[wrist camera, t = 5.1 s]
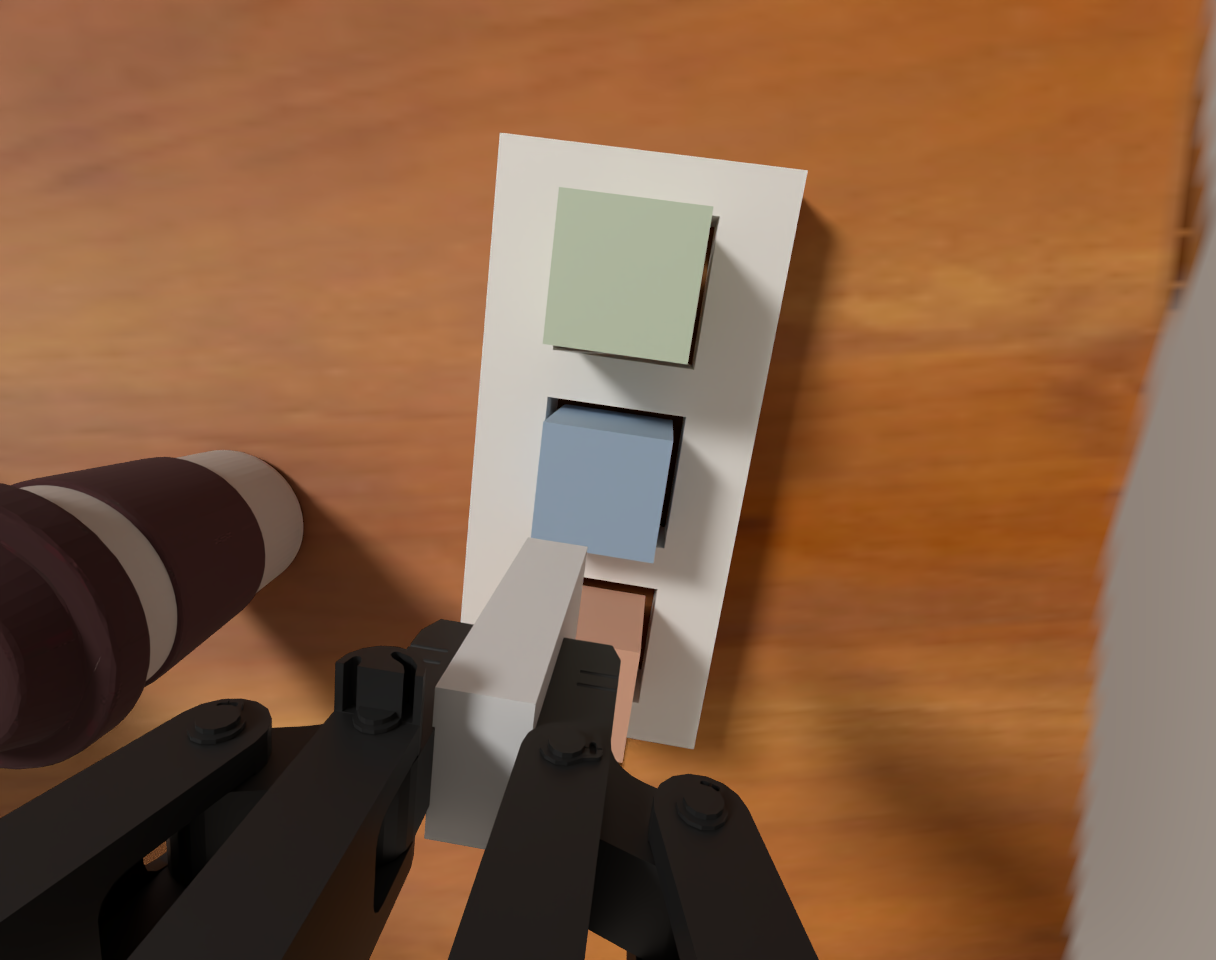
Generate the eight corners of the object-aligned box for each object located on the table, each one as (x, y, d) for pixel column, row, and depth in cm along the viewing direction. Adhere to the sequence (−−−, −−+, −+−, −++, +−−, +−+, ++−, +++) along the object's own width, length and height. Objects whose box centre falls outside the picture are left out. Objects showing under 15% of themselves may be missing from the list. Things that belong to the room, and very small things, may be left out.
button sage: (566, 339, 27) (542, 343, 22) (580, 213, 25) (559, 186, 20) (684, 355, 26) (687, 364, 21) (704, 229, 25) (713, 206, 20)
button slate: (552, 506, 30) (530, 543, 25) (565, 403, 29) (543, 421, 24) (656, 522, 30) (653, 563, 25) (672, 419, 29) (673, 441, 24)
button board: (471, 674, 34) (453, 706, 31) (517, 152, 28) (500, 132, 25) (691, 712, 34) (693, 749, 31) (792, 186, 27) (807, 170, 24)
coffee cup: (331, 434, 32) (47, 531, 17) (333, 613, 34) (87, 829, 20) (145, 411, 32) (-279, 486, 18) (160, 589, 35) (-201, 780, 20)
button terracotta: (528, 672, 31) (501, 741, 26) (539, 578, 30) (512, 631, 24) (630, 689, 31) (622, 763, 25) (645, 595, 29) (640, 653, 24)
